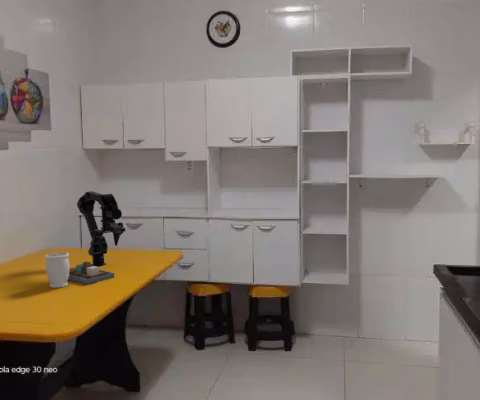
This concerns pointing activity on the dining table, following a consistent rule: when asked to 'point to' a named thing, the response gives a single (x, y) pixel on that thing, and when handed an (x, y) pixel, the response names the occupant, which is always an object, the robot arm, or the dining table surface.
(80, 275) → the caddy
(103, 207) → the robot arm
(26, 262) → the dining table surface
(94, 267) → the cream block
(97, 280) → the tray
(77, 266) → the teal block
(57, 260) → the jar
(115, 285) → the dining table surface
